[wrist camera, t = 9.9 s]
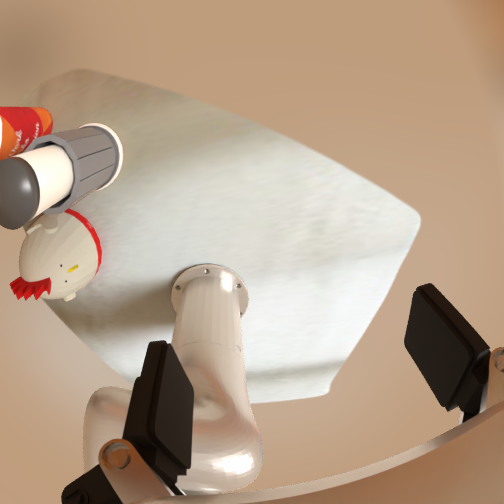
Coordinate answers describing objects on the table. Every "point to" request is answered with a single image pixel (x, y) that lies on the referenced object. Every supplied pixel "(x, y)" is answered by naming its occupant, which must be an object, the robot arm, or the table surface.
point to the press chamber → (86, 160)
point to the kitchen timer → (57, 257)
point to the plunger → (33, 183)
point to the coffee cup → (22, 128)
